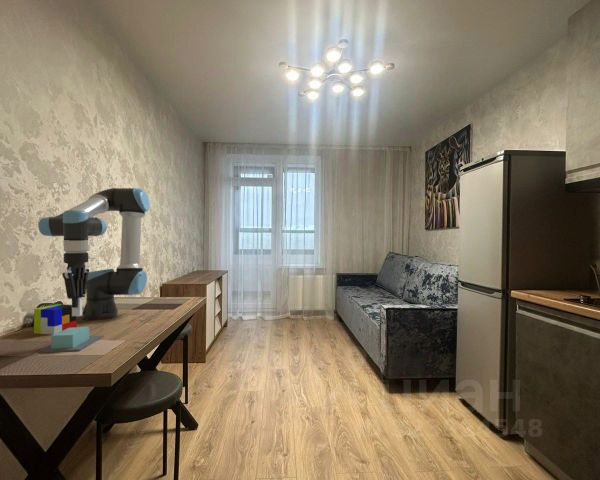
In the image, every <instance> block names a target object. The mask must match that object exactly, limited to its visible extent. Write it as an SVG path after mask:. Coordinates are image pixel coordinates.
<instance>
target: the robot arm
mask: <svg viewBox="0 0 600 480" xmlns="http://www.w3.org/2000/svg"><path fill="white" fill-rule="evenodd" d="M150 207H151V205H150V198H149V195H148V193H147V192H146V191H145V190H144V189H143V188H135V187H133V188H131V187H130V188H129V187H127V188H120V187H118V188H117V187H113V188H112V187H111V188H107V189H105V190H104V189H103V190H101V191H98V192H96V193H94V194H92V195H90V196H88V199H86V200H85V201H83V202H81V203H79V204H77V205H75V206H74V207H72V208H70V209H67V210H64V212H61V213H60V214H58V215H56V216H45V217H42V218H40V220H38V225H37V227H38V231H39V233H40V234H41V235H43V236H45V237H63V252H64V253H63V263H64V264H66V265H67V267H66V271H65V272H62V273H61V274H62V275H61V276H62V277H63V280H64V285H65V286H64V287H65V291H66V296H67V299H68V300H71V305H72V316H76V317H81V318H82V320H87V321H88V320H89V321H95V320H97V321H98V320H103V319H104V320H105V319H109V318H110V319H111V318H113V317H114V318H115V317H117V316H118V315H119V309H118V307H117V303H116V302H115V296H133V295H134V296H135V295H139V294H140V295H141V293H143V291H144V290H145V288H146V285H147V281H148V276H147V272H146V271H145V270H143V269H144V268H143V266H141V264H140V261H141V259H140V258H141V257H140V256H141V238H142V237H141V235H142V218H143V217H145V214H146V213H145V212H148V211H149V210H150ZM107 212H119V213H118V214H119V215H120V216H121V219H122V220H121V239H120V241H121V243H120V261H119V262H120V263H119V265H118V266H117V267H116V271H115V269H114V268H105V269H101V270H94V271H93V270H92V271H90V269H89V268H86V264H85V263H88V262H89V253H88V251H89V237H99V236H102V235H103V234H105V233H106V231H107V227H108V226H107V223H106V221H105V220H103V218H99V217H96V216H97V215H99V214H104V213H107ZM85 297H86V298H85ZM83 298H85V299H86V300H85V305H84V308H83Z"/></svg>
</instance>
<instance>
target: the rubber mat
mask: <svg viewBox="0 0 600 480" xmlns="http://www.w3.org/2000/svg"><path fill="white" fill-rule="evenodd" d="M102 338H104V335H103V334H102V335H101V334H100V335H89V339H88V340H87V341H85V342H83V343H81V344H79V345H77V346H76V347H74V348H59V349H51V344H49V345H48V346H46V347H45V346H44V347H43V348H41V349H40V350H38V352H37V353H39V354H41V353H42V354H43V353H62V352H63V353H65V352H66V353H67V352H68V353H69V352H81V351H82V350H84V349H86V348H87V347H89V346H91V345H92V344H94V343H96V342H97V341H99V340H101V339H102Z"/></svg>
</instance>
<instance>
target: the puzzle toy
mask: <svg viewBox="0 0 600 480" xmlns="http://www.w3.org/2000/svg"><path fill="white" fill-rule="evenodd" d="M76 327H77V316H72V304H65V303H62V304H59V303H57V304H52V305H47V306H43V307H42V306H41V307H37V308H33V333H34V334H37V335H38V334H39V335H41V334H42V335H50V336H51V335H54V334H56V333H58V332H61V331H63V330H65V329H67V328H76Z"/></svg>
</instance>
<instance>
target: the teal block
mask: <svg viewBox="0 0 600 480" xmlns="http://www.w3.org/2000/svg"><path fill="white" fill-rule="evenodd" d="M89 336H90V327H89V326H82V327H81V326H80V327H78V326H76V328H67V329H65V330H63V331H61V332H58V333H56V334H54V335H51V334H50V345H51V349H59V348H74V347H76V346H77V345H79V344H81V343H83V342H85V341H87V340H88V339H89Z"/></svg>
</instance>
